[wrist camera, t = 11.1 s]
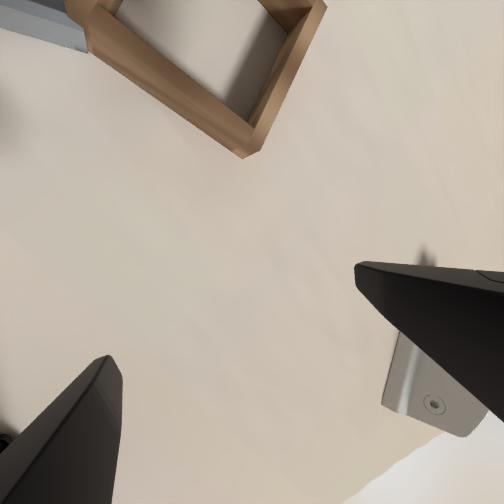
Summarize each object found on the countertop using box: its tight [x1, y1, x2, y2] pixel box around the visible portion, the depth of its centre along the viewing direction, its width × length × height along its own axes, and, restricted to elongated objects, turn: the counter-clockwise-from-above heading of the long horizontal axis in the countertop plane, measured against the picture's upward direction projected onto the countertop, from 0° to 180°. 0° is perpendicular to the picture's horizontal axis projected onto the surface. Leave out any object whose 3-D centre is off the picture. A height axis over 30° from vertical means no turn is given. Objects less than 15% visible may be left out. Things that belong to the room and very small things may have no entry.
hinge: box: [381, 332, 490, 437], centre depth 31 cm, size 17×5×10 cm, turn 164°
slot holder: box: [64, 0, 327, 159], centre depth 17 cm, size 12×12×3 cm
